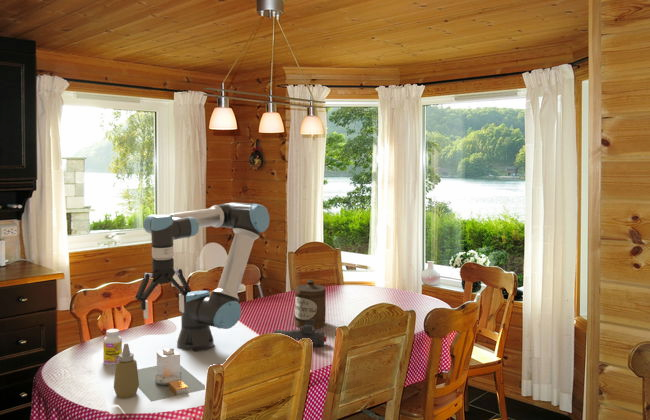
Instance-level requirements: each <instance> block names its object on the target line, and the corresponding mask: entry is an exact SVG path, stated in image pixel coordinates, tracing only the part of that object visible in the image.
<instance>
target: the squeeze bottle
mask: <svg viewBox="0 0 650 420" xmlns="http://www.w3.org/2000/svg"><path fill="white" fill-rule="evenodd" d="M134 356H135V355H134V353H133V352H131V351H130V346H129V344H128V343H124V344H123V347H122V354H120V355H119V361H117V362H116V364H115V371H114V379H113V390H114V392H115V395H116V397H117V398H119V399H123V400H125V399H131V398H133V397H134V398H135V396H137V392H138V389H139V388H138V386H139V379H138V371H137V369H138V364H137V360H135V359H134Z"/></svg>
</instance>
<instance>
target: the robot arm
mask: <svg viewBox="0 0 650 420" xmlns="http://www.w3.org/2000/svg"><path fill="white" fill-rule="evenodd" d="M143 220H144V221H143V229H144V231H146V233H149V234H150V235H151V236H150V237H151V257H152V260H151V267H152V272H151V273H150V272H149V273H147V272H144V273H143V279H142V281H141V283H140V286H139V288H138V290H137V292H136V294H135V297H134V298H135V299H136V300H137V301H140V310H142V311H143V318H144V319H145V320H149V300H147V299H148V298H149V296H150V295H151V294H152V292H153V291H154V290H155V289H156V287H157V286H158V285H162V284H163V285H164V284H169V283H171V284H172V285H173V286H174V287H175V289H177V291H179V294H178V306H179V307H178V308H179V309H178V311H179V312H180V314H181V315H180V316H181V320H180V323H181V328H180V331H179V334H178V338H177V341H176V347H177V348H178V349H179V350H180V349H182V350H186V351H193V352H199V351H207V350H209V349H211V348H213V346H215V345H214V341H215V340H214V336H213V334H212V330H211V327H214V328H217V329H223V330H228V329H231V328H233V327H234V326H235V325H237V323H238V322H239V320H240V318H241V314H242V306H241V304H240V298H239V296H238V292H239V289H240V286H241V283H242V280H243V277H244V274H245V271H246V268H247V264H248V261H249V258H250V255H251V252H252V249H253V247H254V242H255V241H256V240H258V239H259V238H260V235H261V233H264V232H265V231H267V230H268V228H269V226H270V215H269V211H268V209H267V207H265V206H264V205H263V204H259V203H251V202H249V203H248V202H238V201H234V202H227V203H226V202H225V203H221V204H214V205H212V206H210V207H209V208H204V209H197V210H196V209H195V210H189V211H187V210H186V211H182V212H174V213H168V214H165V213H164V214H149V215H147V216H146V217H145V219H143ZM208 227H213V228H228V229H232V231H233V233H234V236H233V238H232V242H231V245H230V248H229V251H228V254H227V258H226V260H225V263H224V267H223V269H222V272H221V275H220V279H219V282H218V284H217V287H216V288H215V289H214V290H212V291H211V293H210V291H209V290H194V291H192V290H191V287H190V286H189V284H188V282H187V279H186V278H185V276H184V275H183V273H184V272H183V269H181V268H179V267H177V268H176V269H175V268H174V266H175V265H174V261H175V259H174V241H175V240H180V239H186V238H191V237H194V236H196V235H197V234H198V233H199V231H200V229H202V228H208ZM175 275H176V276H177V278H178V279H179V281H180V283H181V285H182V286H181V285H180V284H179V283H178V282H177V280H175V278H174V276H175ZM151 278H153V279H152V280H151ZM150 280H151V282H150V283H149V281H150ZM148 284H149V285H148Z"/></svg>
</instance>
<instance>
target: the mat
mask: <svg viewBox="0 0 650 420" xmlns="http://www.w3.org/2000/svg"><path fill="white" fill-rule="evenodd" d="M137 371H138V379H139V386H138V389H139V390H140V391H141V392H142V393H143V394H144V395H145V396H146V397H147V399H148V400H149V401H150V402H156V401H159V400H163V399H164V400H165V399H168V398H174V397H177V396H176V395H175V394H174V393H173V392H172V391H171V390H170V389H169V388H168V387H163V386H158V385H156V384H155V375H156V374H157V365H154V366H148V367H144V368H137ZM180 372H181V381H182V382H183V383H184V384H185V385H187V386H188V393H187V394H190V393H191V394H192V393H195V392H200V391H205V390H206V389H205V386H206V385H205V384H204V383H202V382H201V381H200V380H199V379H197V377H195V376H194V375H193V373H191V372H189V371H188V370H187V369H186V368H184V367H183V366H182V365H181V364H180ZM182 395H184V394H182ZM182 395H181V396H182Z"/></svg>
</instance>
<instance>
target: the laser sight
mask: <svg viewBox="0 0 650 420" xmlns="http://www.w3.org/2000/svg"><path fill="white" fill-rule="evenodd" d="M274 333H282V334H285V335H288V336H290V337H292V338H294V339H295V340H297V341H299V340H300V339H302V338H310V339H311V340H312V342H313V346H312V347H319V346H321V347H324V346H325V342H327V336H326V335H325V332H324V331H319V330H315V329H314V320H310V319H306V325H304V327H303V326H300V327H299V329H292V330H284V329H283V330H282V329H280V330H279V329H274V332H273V334H274Z"/></svg>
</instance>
